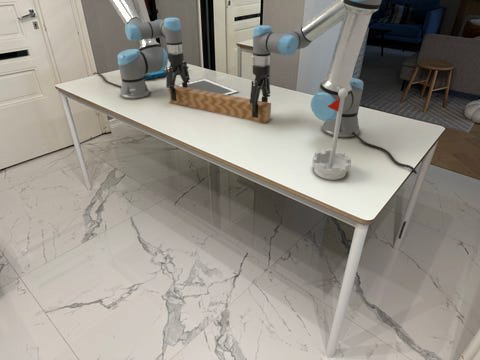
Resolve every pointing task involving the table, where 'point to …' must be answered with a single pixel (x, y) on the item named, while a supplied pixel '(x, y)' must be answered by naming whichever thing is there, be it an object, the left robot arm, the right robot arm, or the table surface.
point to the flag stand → (333, 149)
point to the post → (221, 103)
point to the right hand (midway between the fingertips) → (259, 113)
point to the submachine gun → (156, 74)
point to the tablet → (210, 87)
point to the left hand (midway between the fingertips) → (179, 97)
